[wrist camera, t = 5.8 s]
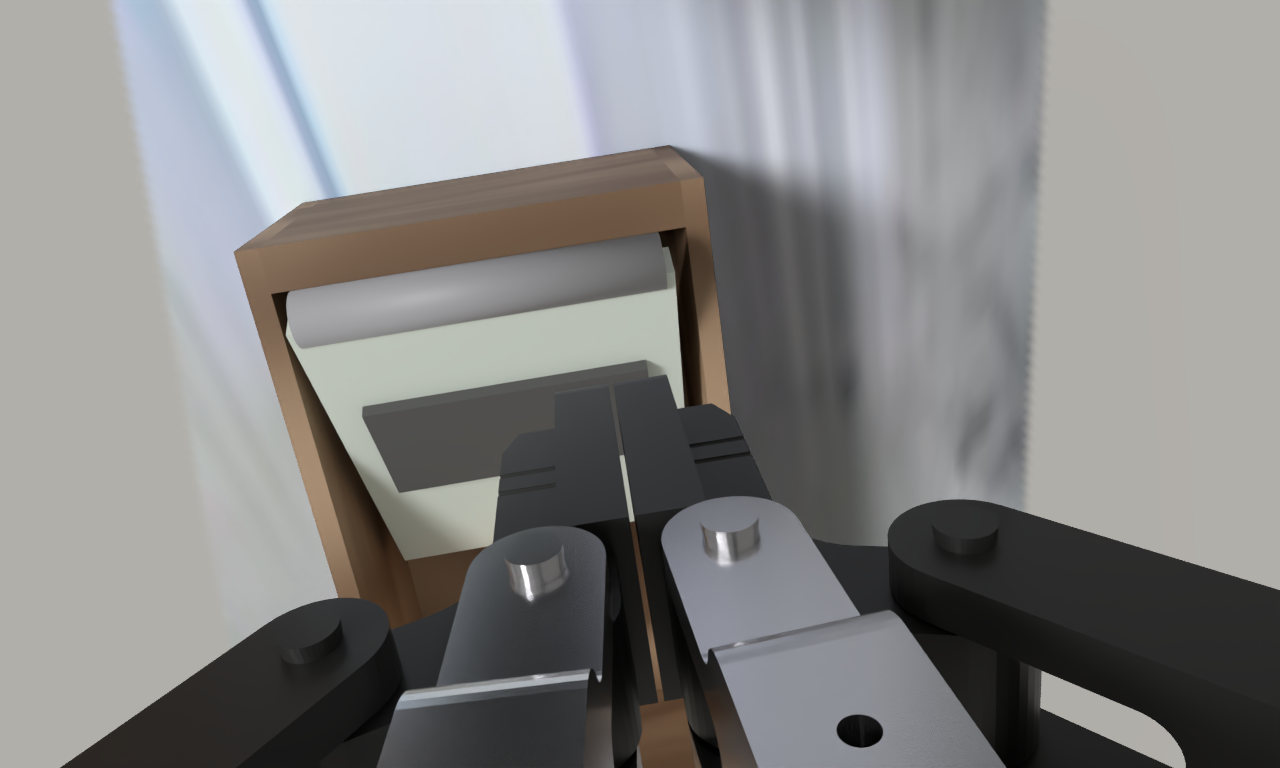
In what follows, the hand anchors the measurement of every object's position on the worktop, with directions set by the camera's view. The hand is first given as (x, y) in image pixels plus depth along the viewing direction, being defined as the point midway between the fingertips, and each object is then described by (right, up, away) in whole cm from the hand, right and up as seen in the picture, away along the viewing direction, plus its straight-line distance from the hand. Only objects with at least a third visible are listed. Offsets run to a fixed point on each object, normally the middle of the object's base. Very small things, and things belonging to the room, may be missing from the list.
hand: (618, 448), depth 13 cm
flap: (-3, 0, +11) cm, 11 cm away
